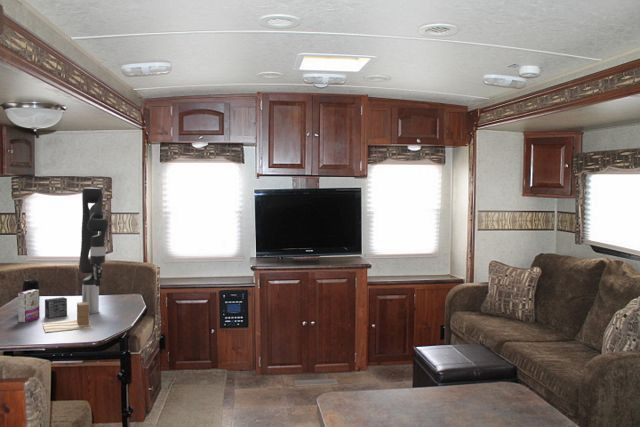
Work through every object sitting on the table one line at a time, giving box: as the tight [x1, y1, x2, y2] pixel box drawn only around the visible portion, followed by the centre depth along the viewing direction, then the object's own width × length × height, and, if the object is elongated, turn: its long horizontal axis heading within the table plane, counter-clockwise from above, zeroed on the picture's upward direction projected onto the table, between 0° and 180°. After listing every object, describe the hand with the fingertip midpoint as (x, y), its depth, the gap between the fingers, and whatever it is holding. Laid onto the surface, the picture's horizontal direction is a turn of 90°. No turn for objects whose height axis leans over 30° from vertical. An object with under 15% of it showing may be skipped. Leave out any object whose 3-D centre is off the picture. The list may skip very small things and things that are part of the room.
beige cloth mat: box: [42, 319, 92, 334], centre depth 289 cm, size 20×22×1 cm
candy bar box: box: [17, 289, 40, 323], centre depth 300 cm, size 11×5×16 cm, turn 168°
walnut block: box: [76, 302, 90, 326], centre depth 293 cm, size 8×5×11 cm, turn 31°
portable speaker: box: [22, 278, 40, 292], centre depth 321 cm, size 9×9×20 cm
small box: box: [44, 296, 68, 319], centre depth 310 cm, size 11×6×10 cm, turn 134°
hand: (97, 285), depth 296 cm, fingers open, 2 cm apart
